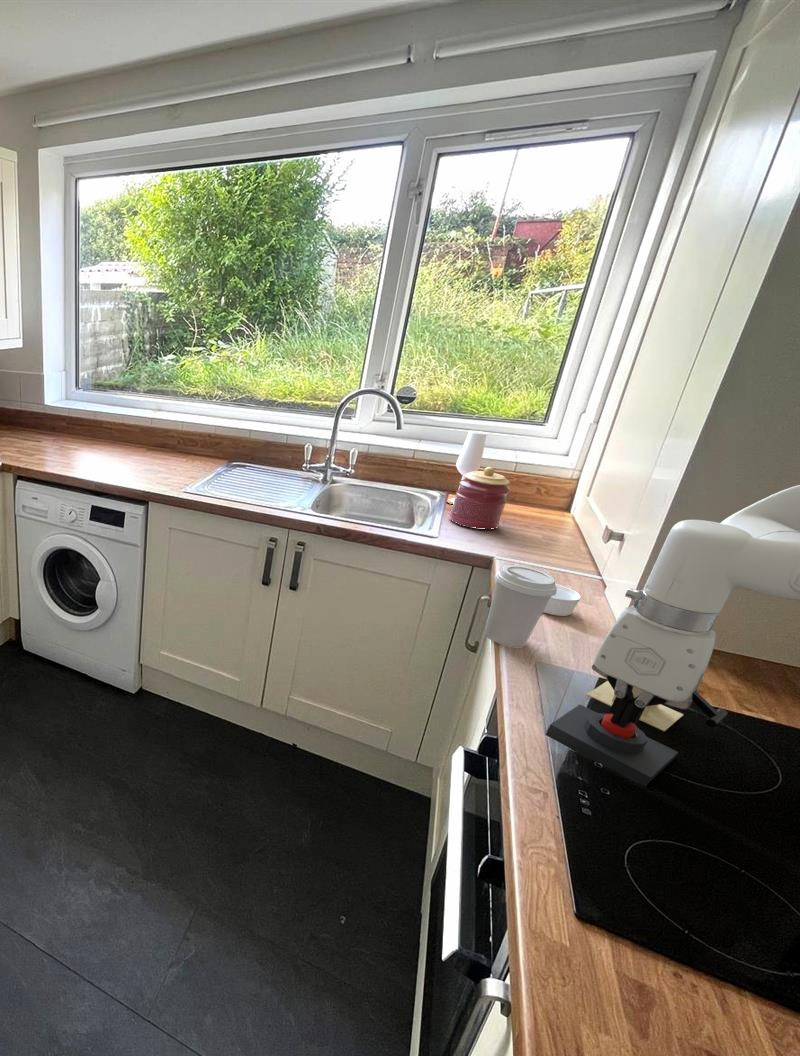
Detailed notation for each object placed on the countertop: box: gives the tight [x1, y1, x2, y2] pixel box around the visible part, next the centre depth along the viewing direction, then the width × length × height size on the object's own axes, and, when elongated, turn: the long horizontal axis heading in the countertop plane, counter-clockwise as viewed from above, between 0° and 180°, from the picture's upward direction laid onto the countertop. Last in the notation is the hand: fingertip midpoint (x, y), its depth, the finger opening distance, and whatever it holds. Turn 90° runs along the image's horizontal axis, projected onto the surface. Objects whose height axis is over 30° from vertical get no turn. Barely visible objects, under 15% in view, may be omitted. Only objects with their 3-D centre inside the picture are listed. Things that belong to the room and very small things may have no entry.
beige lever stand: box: [586, 680, 685, 733], centre depth 93 cm, size 10×8×12 cm
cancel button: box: [600, 713, 638, 738], centre depth 85 cm, size 4×4×2 cm
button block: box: [545, 704, 679, 786], centre depth 86 cm, size 12×10×4 cm
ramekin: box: [542, 583, 582, 617], centre depth 127 cm, size 9×9×4 cm
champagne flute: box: [449, 430, 488, 503], centre depth 189 cm, size 7×7×24 cm
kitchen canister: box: [449, 466, 511, 529], centre depth 173 cm, size 13×13×18 cm
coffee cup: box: [483, 564, 557, 649], centre depth 110 cm, size 10×10×15 cm
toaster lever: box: [692, 689, 729, 728], centre depth 89 cm, size 12×5×2 cm
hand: (621, 721), depth 84 cm, fingers closed
